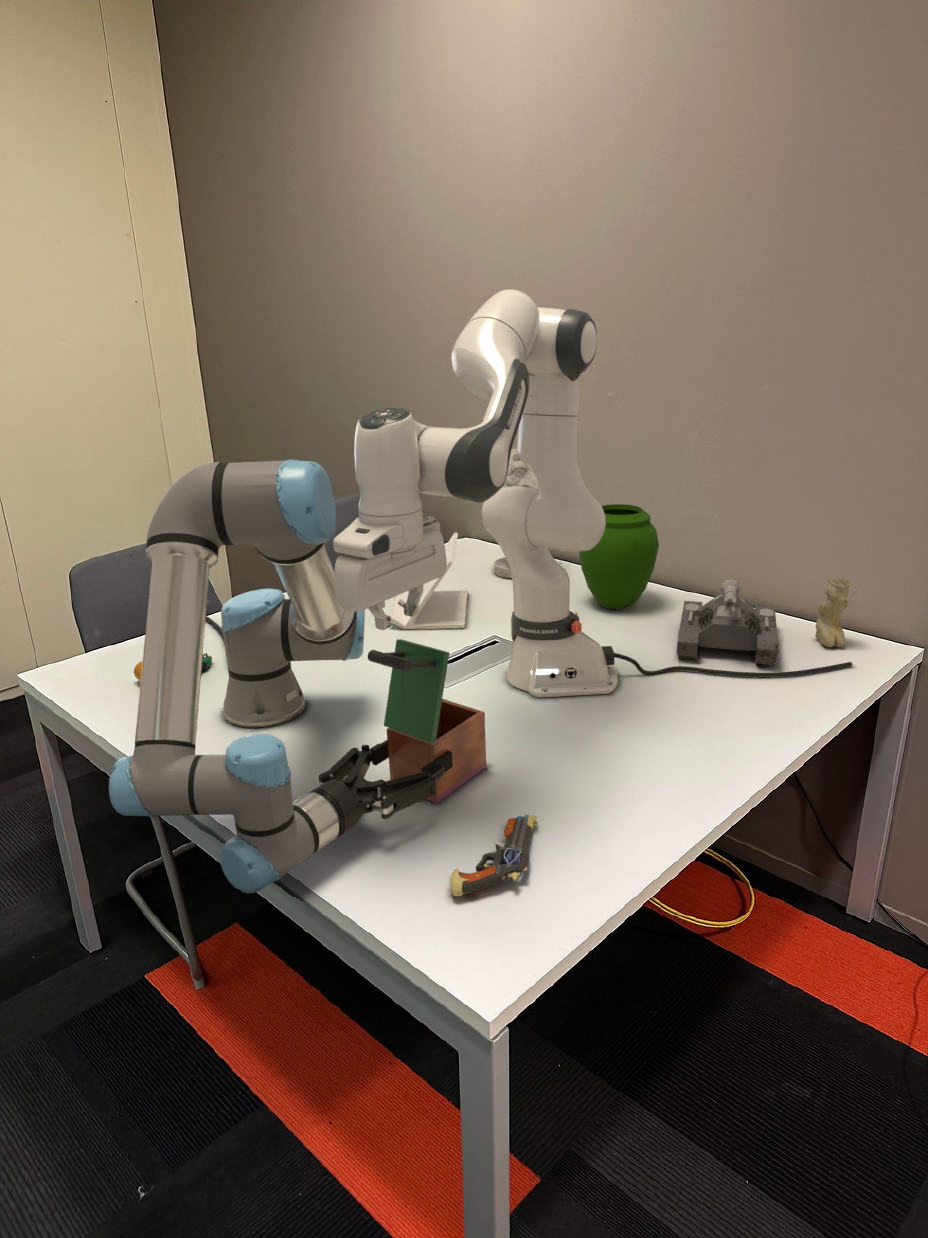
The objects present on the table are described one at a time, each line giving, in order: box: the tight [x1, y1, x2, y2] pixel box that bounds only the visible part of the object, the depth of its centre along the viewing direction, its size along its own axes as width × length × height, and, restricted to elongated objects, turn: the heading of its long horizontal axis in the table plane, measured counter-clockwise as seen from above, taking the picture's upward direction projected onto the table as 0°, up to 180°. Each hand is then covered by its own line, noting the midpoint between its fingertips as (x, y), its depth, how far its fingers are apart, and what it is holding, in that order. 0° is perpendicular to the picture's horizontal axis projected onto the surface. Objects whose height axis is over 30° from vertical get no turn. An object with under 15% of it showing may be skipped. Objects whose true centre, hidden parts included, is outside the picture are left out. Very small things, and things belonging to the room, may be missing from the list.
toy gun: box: [449, 814, 538, 897], centre depth 118 cm, size 3×19×10 cm
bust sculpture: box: [493, 448, 538, 579], centre depth 231 cm, size 16×24×35 cm
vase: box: [578, 503, 660, 610], centre depth 210 cm, size 20×20×24 cm
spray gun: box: [133, 652, 213, 682], centre depth 180 cm, size 4×17×15 cm
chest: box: [386, 698, 488, 804], centre depth 138 cm, size 13×10×10 cm
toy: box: [676, 578, 780, 666], centre depth 186 cm, size 25×20×15 cm
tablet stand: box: [389, 531, 468, 630], centre depth 211 cm, size 18×25×17 cm
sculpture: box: [814, 576, 852, 648], centre depth 185 cm, size 6×7×15 cm
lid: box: [367, 638, 450, 742], centre depth 128 cm, size 14×10×9 cm
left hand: (425, 749), depth 136 cm, fingers closed on chest, 10 cm apart
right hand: (397, 621), depth 124 cm, fingers open, 5 cm apart
